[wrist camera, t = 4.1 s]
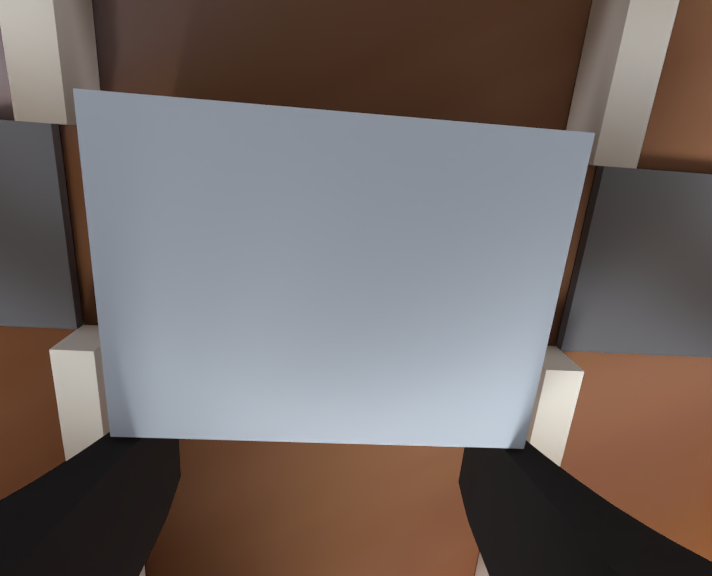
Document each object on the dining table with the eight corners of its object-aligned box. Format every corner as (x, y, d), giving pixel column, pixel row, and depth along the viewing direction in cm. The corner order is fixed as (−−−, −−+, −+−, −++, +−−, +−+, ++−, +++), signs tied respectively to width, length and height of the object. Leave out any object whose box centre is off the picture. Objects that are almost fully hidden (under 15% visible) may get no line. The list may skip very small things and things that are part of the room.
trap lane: (638, 582, 16) (705, 678, 13) (-49, 579, 14) (-145, 689, 11) (969, -354, 9) (1290, -603, 6) (-366, -594, 7) (-867, -1123, 4)
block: (465, 357, 13) (523, 448, 9) (179, 344, 12) (109, 436, 8) (503, 137, 11) (595, 132, 7) (168, 109, 10) (72, 88, 6)
